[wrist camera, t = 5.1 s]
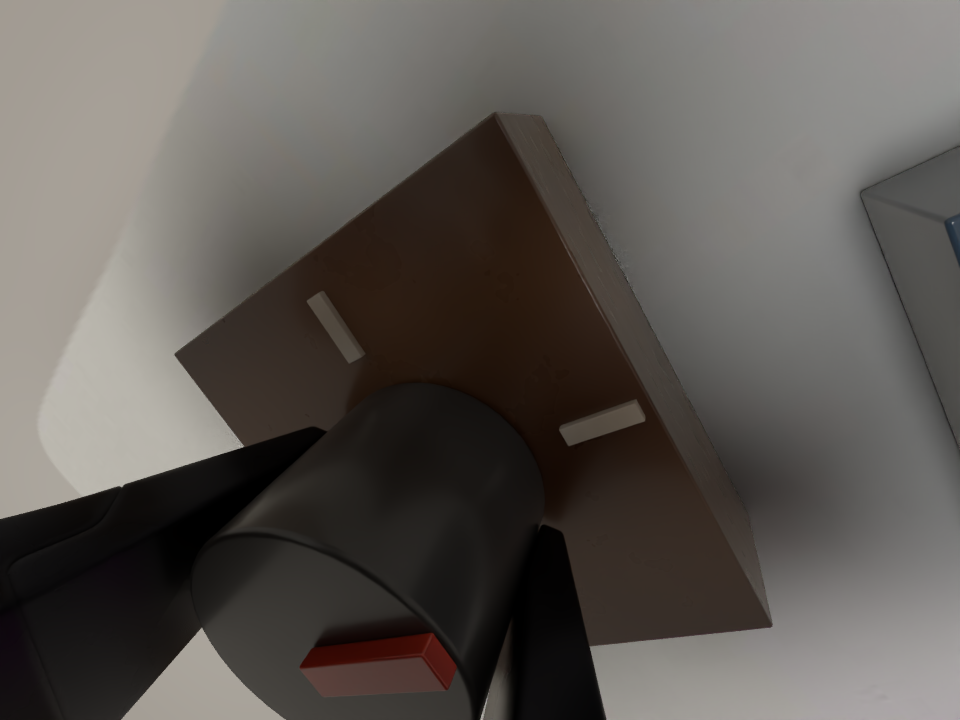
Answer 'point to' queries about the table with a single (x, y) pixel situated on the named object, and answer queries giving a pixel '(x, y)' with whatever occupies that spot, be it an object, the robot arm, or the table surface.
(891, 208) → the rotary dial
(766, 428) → the table surface
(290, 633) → the lock knob
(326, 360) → the panel
